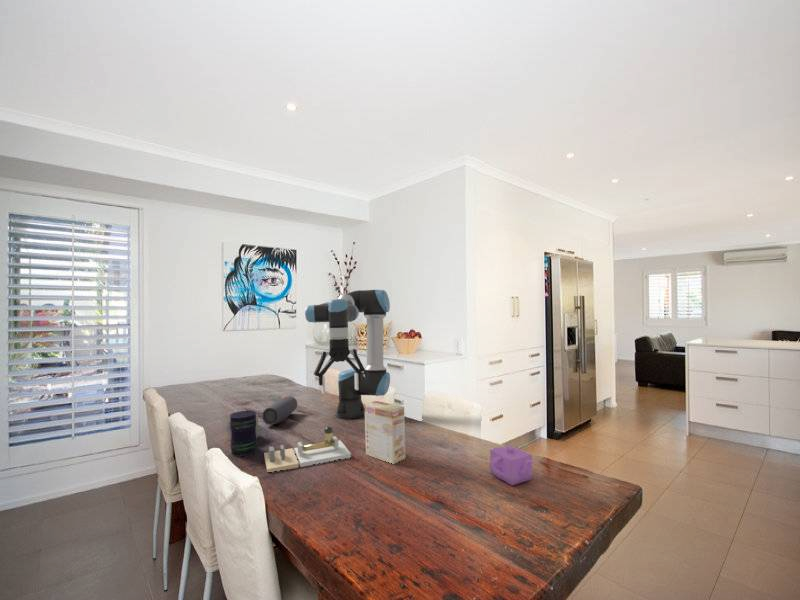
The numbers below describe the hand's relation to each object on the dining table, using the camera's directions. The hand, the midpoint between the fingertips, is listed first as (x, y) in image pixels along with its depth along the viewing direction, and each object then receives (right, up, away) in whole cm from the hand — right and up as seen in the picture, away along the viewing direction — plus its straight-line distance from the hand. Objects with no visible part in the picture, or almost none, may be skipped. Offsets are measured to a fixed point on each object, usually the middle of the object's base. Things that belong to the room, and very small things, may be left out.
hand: (340, 391), depth 157 cm
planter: (-44, -25, +16) cm, 53 cm away
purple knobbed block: (+60, -22, -30) cm, 70 cm away
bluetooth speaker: (-36, -24, +41) cm, 60 cm away
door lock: (-12, -24, -7) cm, 27 cm away
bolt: (-8, -21, -5) cm, 23 cm away
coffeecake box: (+18, -23, -8) cm, 31 cm away
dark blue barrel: (-39, -25, +1) cm, 46 cm away
